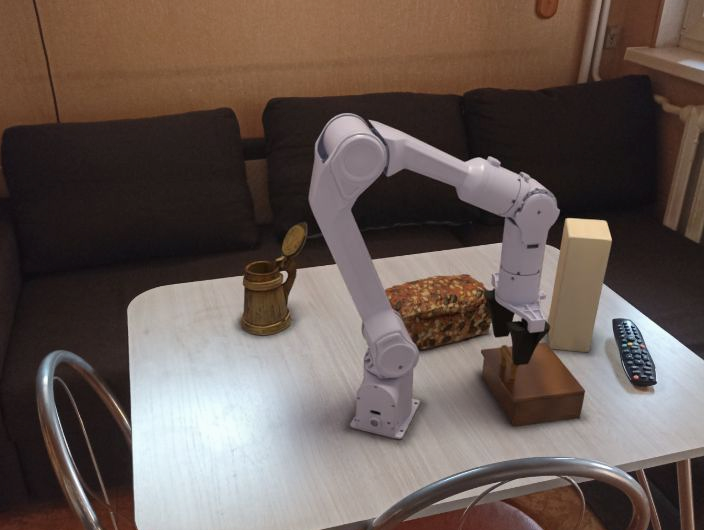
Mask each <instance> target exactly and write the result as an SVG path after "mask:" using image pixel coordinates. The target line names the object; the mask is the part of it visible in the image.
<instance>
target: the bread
mask: <svg viewBox="0 0 704 530" xmlns="http://www.w3.org/2000/svg"><path fill="white" fill-rule="evenodd" d="M484 285H485V284H484V283H483V282H482V281H479V280H477V279H476V278H474V277H473V276H472V275H471V274H469V273H468V274H467V273H465V274H464V273H463V274H457V275H455V274H452V275H435V276H428V277H426V278H425V277H424V278H420V279H416V280H413V281H406V282H404V283H402V284H395V285H392V286H391V287H387V288H386V289H384V290H385V292H386V295H387V297H388V300H389V302H390V304H391V307H392V309H393V310H395V311H396V312H398V313H399V314H400V315H401V317H402V319H403V322H404V325H405V327H406V329H407V331H408V333H409V335H410V337H411V339H412V341H413V343H414V344H415V345H416V347H417V348H418V350H427V349H429V348H431V349H432V348H434V347H439V346H443V345H447V344H453V343H457V342H461V341H463V340H465V339H469V338H470V337H472V338H473V337H475V336H477V335H485V334H486V333H488V332H489V330H490V328H491V324H492V320H491V314H490V310H489V306H488V303H487V301H486V299H485V297H484V292H485V291H488V290H489V289H488V288H486V287H485V286H484Z"/></svg>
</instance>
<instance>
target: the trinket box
mask: <svg viewBox="0 0 704 530" xmlns="http://www.w3.org/2000/svg"><path fill="white" fill-rule="evenodd" d="M482 361H483V362H482V371H481V376H482V378H483V379H484V380H485V382H486V384H487V385H488V387H489V388H490V390H491V392H492V393H493V395H494V397H495V399H496V400H497V402H498V403H499V405H500V407H501V408H502V410H503V411H504V413H505V415H506V416H507V418H508V420H509V421H510V422H511V425H512V426H513V427H517V426H526V425H533V424H540V423H548V422H555V421H563V420H572V419H579V418H581V414H582V411H583V404H584V400H585V394H586V393H585V394H579V395H571V396H563V397H555V398H547V399H539V400H531V401H523V402H515V403H513V402H512V400H511V399H510V397H509V396H508V394H507V393H506V391H505V389H504V388H503V386H502V385H501V383H500V382H499V380H498V379H497V377H496V375H495V374H494V372H493V371H492V369H491V368H490V366H489V365H488V363H487V362H486V360H485V358H484V357H483V360H482Z"/></svg>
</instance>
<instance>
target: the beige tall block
mask: <svg viewBox="0 0 704 530" xmlns="http://www.w3.org/2000/svg"><path fill="white" fill-rule="evenodd" d="M612 242H613V239H612V235H611V232H610V228H609V225H608V221H607V220H603V219H601V220H600V219H588V218H573V217H572V218H571V217H567V218H565V220H564V224H563V231H562V237H561V242H560V248H559V254H558V261H557V266H556V271H555V278H554V284H553V289H552V291H553V292H552V294H551V301H550V307H549V313H548V319H547V323H548V324H549V325H550V331H549V332H548V333H547V338H548V345H549V347H550V348H551V349H552V350H561V351H570V352H578V353H579V352H580V353H589V352H590V347H591V343H592V338H593V334H594V328H595V323H596V319H597V314H598V309H599V305H600V299H601V295H602V290H603V287H604V286H603V285H604V280H605V276H606V272H607V267H608V263H609V257H610V253H611V247H612V244H613V243H612Z"/></svg>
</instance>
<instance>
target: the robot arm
mask: <svg viewBox="0 0 704 530" xmlns="http://www.w3.org/2000/svg"><path fill="white" fill-rule="evenodd" d="M368 122H369V123H370V124H371V127H372V128H370V127H369V126H370V125H369V124H368V123H367V122H366V120H364V118H363V117H361V116H359V115H357V114H355V113H348V112H347V113H340V114H337V115H335V116H334V117H332V118H331V119H330V120H329V121H328V122H327V123H326V124H325V125H324V127H323V129H322V131H321V133H320V135H319V136H318V138H317V139H316V141H315V144H314V160H313V161H314V162H313V166H312V174H311V179H310V186H309V190H308V203H309V207H310V209H311V212H312V214H313V216H314V219H315V221H316V223H317V225H318V228H319V229H320V231H321V234H322V236H323V238H324V241H325V243H326V245H327V247H328V249H329V251H330V253H331V256H332V258H333V261H334V263H335V265H336V267H337V268H338V271H339V273H340V276H341V278H342V280H343V282H344V284H345V286H346V288H347V291H348V292H349V295H350V297H351V300H352V301H353V304H354V306H355V308H356V310H357V312H358V314H359V317H360V319H361V327H360V329H361V330H360V331H361V335H362V338H363V339H364V340H365V342H366V345H367V348H366V351H365V353H364V357H363V377H362V381H361V383H360V385H359V387H358V389H357V391H356V394H355V396H356V397H355V409H356V410H355V415H354V417H353V419H352V420H351V422H350V424H349V426H350V428H352V429H356V430H359V431H364V432H367V433H372V434H374V435H375V434H376V435H379V436H384V437H388V438H393V439H396V440H402V439H404V437H405V434H406V432H407V430H408V428H409V427H410V425H411V422H412V420H413V418H414V417H415V415H416V412H417V411H418V408H419V407H420V405H421V400H419V399H416V398H413V392H414V391H413V390H414V369H415V368H416V367H417V365H418V363H419V360H420V351H419V349H418V348H417V347H416V345H415V344H414V343H413V341H412V339H411V337H410V335H409V333H408V331H407V329H406V327H405V325H404V322H403V319H402V317H401V315H400V314H399V313H398V312H396V311H395V310H393V309H392V307H391V304H390V302H389V300H388V297H387V295H386V292H385V290H386V289H385V288H384V285H383V282H382V281H381V278H380V276H379V273H378V271H377V268H376V267H375V264H374V262H373V259H372V257H371V255H370V253H369V249H368V248H367V246H366V242H365V240H364V238H363V236H362V233H361V231H360V229H359V227H358V224H357V222H356V220H355V217H354V215H353V212H352V208H353V206H354V205H355V202H356V201H357V199H358V197H359V196H360V195H362V194H363V192H365V190H367V188H369V187H370V186H371V185H372V184H373V183H374V182H375V181H376V180H377V179H378V178H379V177H380V176H381V175H382V173H384V175H385V176H386V177H391V176H393V175H395V174H396V173H398V172H401V171H402V170H404V169H405V170H409V171H412V172H414V173H417V174H420V175H423V176H425V177H428V178H430V179H433V180H437V181H439V182H442V183H445V184H447V185H450V186H453V187H455V191H456V194H457V196H458V197H457V198H458V199H460V200H461V201H463V202H465V203H467V204H470V205H472V206H475V207H477V208H480V209H482V210H485V211H487V212H489V213H491V214H494V215H497V216H499V217H501V218H503V217H504V226H503V232H502V233H503V234H502V241H501V242H502V243H501V251H500V260H499V270H498V272H497V271H496V272H492V273H491V286H492V287H493V288H492V289H491V290H489V289H487V290H488V291H485V292H484V297H485V299H486V301H487V303H488V306H489V310H490V314H491V320H492V321H491V322H492V323H491V326H492V333H493V336H494V338H506V337H509V335H510V337H511V338H510V339H511V346H512V359H513V363H514V365H524V364H528V363H529V361H530V359H531V357H532V355H533V352H534V350H535V348H536V347H537V345H538V343H541V341H542V340H543V338H544V337H545V336H547V335H548V332H549V331H550V325H549V324H548V321H547V319H546V317H545V316H544V314H543V310H542V303H541V301H542V300H546V297H547V293H546V292H545V291H544V290H543V289H541V288H540V286H541V279H542V273H543V266H544V259H545V253H546V246H547V239H548V236H549V235H548V234H549V230H550V229H551V227H552V226H554V224H555V223H556V221H557V220H558V217H559V216H560V212H561V209H559V208H558V201H557V198H556V197H555V195H554V194H553V192H552V191H550V190H549V189H547V188H546V187H545V186H544V185H542V184H541V183H539V181H537V180H536V179H534V178H532V177H531V176H530V175H529V174H528V173H525V172H523V171H521V172H519V174H518V173H516V172H514V171H511V170H509V169H507V168H504V167H503V166H501V161H499V159H497V158H494V157H492V156H489V155H488V157H487V158H486V159H485V158H482V157H474V158H471V159H469V160H467V161H463V160H461V159H459V158H457V157H455V156H453V155H451V154H448V153H447V152H444V151H442V150H441V149H439V148H437V147H434V146H432V145H430V144H428V143H426V142H424V141H422V140H420V139H418V138H416V137H413V136H412V135H410V134H407V133H406V132H404V131H401V130H399V129H396V128H394V127H392V126H389V125H386V124H384V123H381V122H380V121H376V120H371V119H368ZM515 315H517V316H518V317H520V320H515V321H514V317H515Z"/></svg>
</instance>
